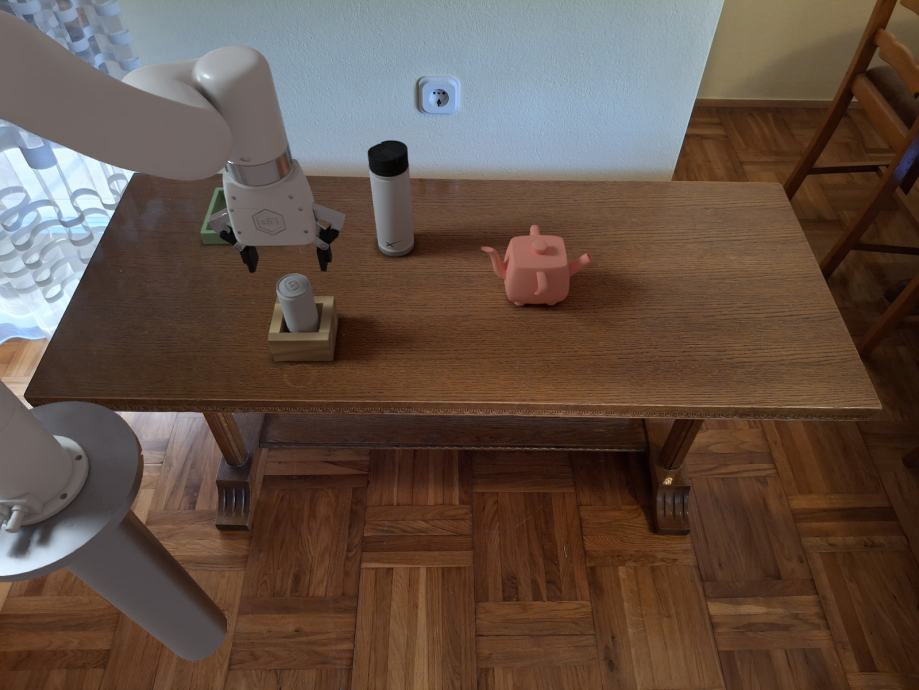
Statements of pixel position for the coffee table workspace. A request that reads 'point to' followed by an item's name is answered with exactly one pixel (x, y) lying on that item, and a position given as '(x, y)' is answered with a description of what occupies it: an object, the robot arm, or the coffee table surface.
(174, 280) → the coffee table surface
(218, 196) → the tray
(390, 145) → the travel mug
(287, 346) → the holder
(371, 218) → the coffee table surface
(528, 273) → the teapot
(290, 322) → the beverage can
